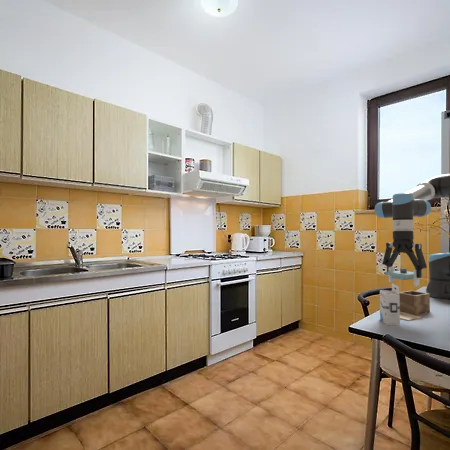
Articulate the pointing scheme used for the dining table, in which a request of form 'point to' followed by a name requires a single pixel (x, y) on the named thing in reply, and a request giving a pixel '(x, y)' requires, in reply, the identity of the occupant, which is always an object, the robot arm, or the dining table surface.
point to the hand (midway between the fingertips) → (403, 283)
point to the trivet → (408, 316)
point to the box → (414, 302)
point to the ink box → (390, 306)
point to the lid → (401, 274)
